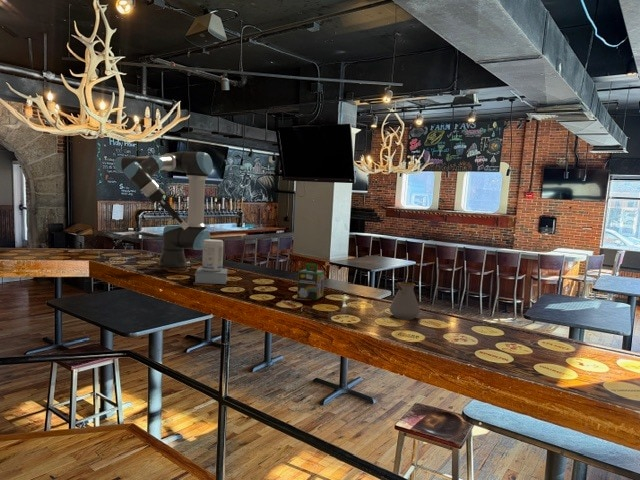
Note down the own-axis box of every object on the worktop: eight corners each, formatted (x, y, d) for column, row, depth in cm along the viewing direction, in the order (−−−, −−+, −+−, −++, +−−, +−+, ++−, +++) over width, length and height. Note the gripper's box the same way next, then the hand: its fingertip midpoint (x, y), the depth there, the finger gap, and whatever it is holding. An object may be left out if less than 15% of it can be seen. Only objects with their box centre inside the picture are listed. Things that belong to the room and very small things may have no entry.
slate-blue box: (197, 277, 218) (198, 267, 218) (226, 278, 221) (227, 268, 220) (194, 282, 203) (195, 272, 203) (226, 284, 206) (226, 273, 206)
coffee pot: (393, 311, 173) (397, 274, 172) (422, 316, 168) (426, 278, 167) (375, 322, 154) (378, 280, 153) (407, 328, 149) (411, 285, 148)
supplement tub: (216, 268, 218) (218, 239, 217) (225, 271, 211) (227, 241, 210) (198, 269, 212) (199, 239, 211) (206, 272, 205) (208, 241, 204)
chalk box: (323, 296, 193) (325, 263, 192) (316, 300, 184) (319, 265, 183) (303, 293, 196) (306, 261, 195) (296, 297, 187) (298, 263, 186)
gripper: (146, 197, 211) (177, 230, 218) (146, 197, 188) (181, 234, 195) (159, 187, 213) (189, 220, 219) (160, 186, 190) (194, 223, 196)
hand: (185, 227), depth 207 cm, fingers open, 13 cm apart
